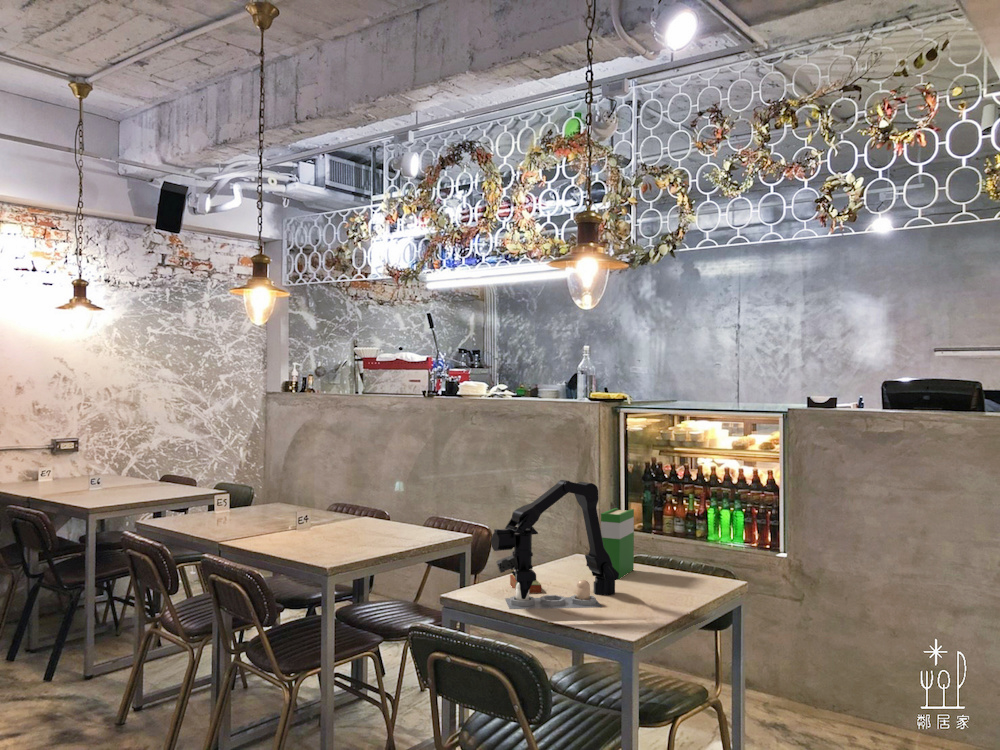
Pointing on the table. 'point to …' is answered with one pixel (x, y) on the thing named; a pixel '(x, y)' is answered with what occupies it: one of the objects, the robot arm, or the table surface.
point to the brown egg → (583, 590)
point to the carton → (533, 589)
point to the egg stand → (552, 602)
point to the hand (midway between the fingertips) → (522, 596)
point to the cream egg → (518, 594)
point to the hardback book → (619, 538)
